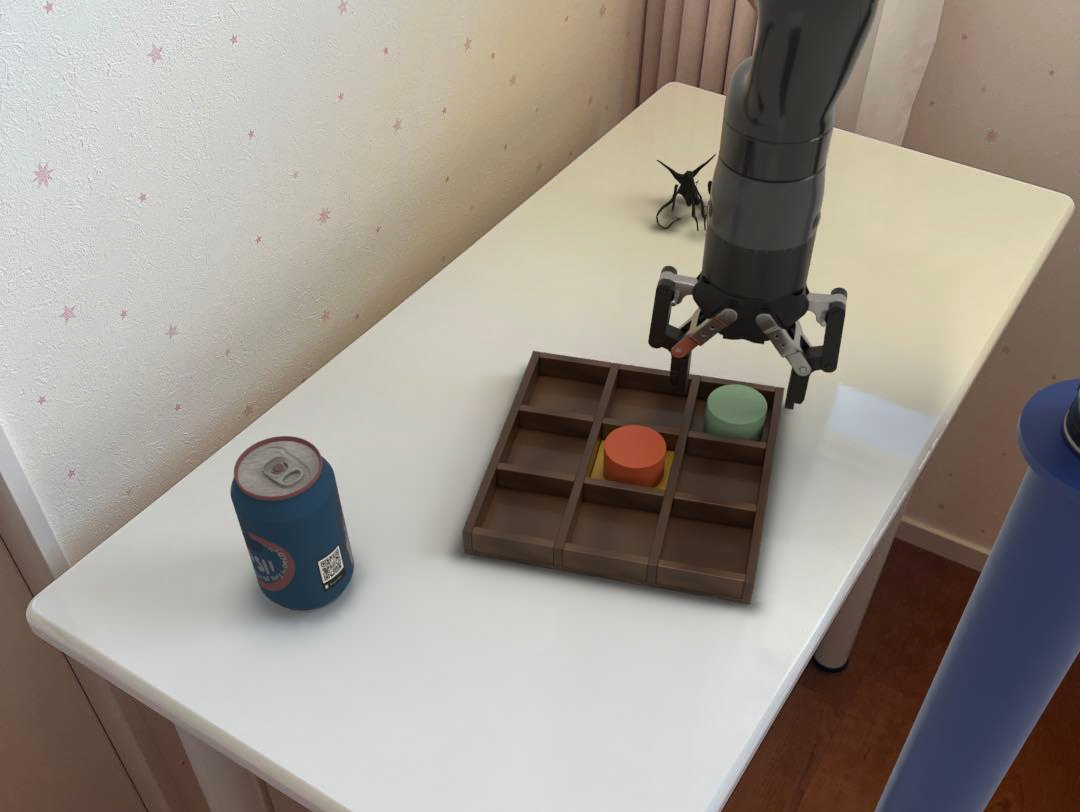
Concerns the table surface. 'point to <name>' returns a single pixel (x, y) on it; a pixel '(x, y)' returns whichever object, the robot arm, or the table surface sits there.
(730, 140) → the robot arm
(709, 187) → the creature
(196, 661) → the table surface
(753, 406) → the sage token
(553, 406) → the grid
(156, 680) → the table surface
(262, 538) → the soda can
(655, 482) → the cylinder
